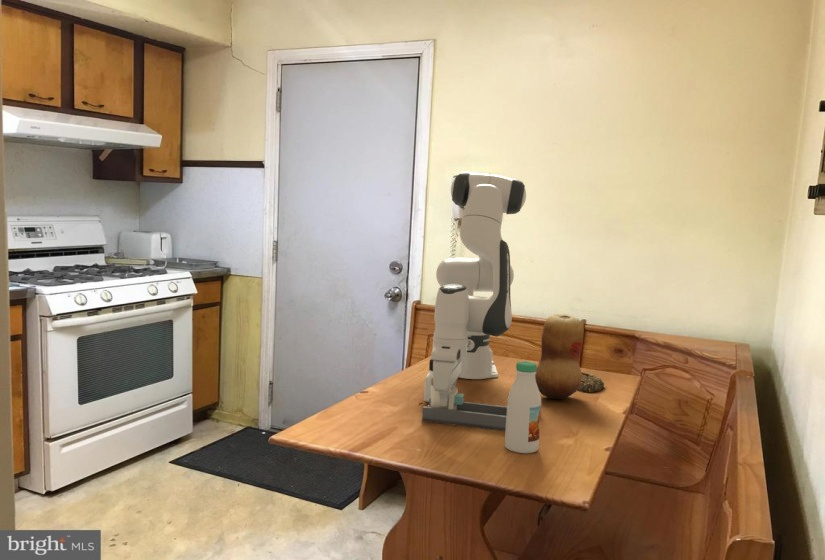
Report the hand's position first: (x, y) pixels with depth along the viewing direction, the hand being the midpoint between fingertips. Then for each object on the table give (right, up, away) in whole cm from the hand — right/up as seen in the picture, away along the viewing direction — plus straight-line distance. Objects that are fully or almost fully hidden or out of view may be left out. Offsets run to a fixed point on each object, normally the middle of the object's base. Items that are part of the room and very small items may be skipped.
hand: (447, 399), depth 167 cm
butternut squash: (+34, -4, +24) cm, 42 cm away
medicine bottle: (-2, -3, +17) cm, 18 cm away
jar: (-2, -4, +1) cm, 4 cm away
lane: (+6, -5, -1) cm, 8 cm away
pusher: (+2, -4, 0) cm, 4 cm away
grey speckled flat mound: (+45, -4, +39) cm, 60 cm away
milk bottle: (+16, -8, -19) cm, 26 cm away
